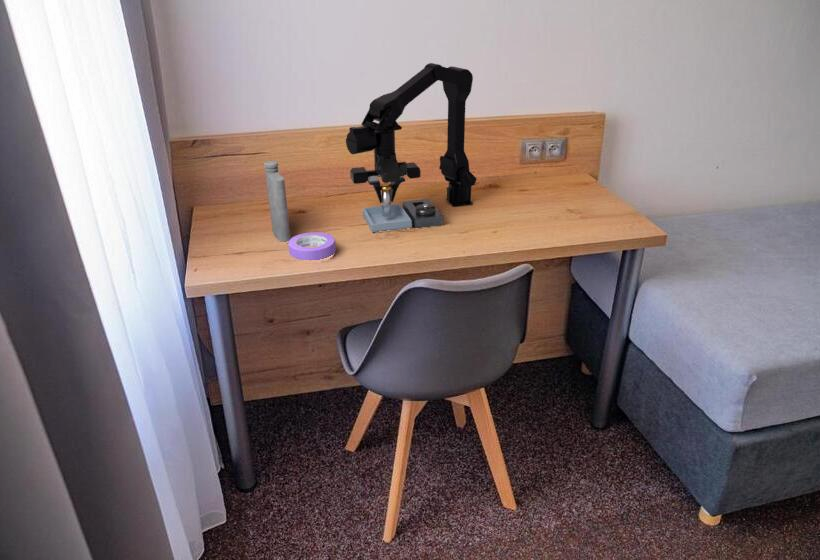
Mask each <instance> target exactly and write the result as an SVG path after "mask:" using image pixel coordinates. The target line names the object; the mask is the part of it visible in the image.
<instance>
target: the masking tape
mask: <svg viewBox="0 0 820 560" xmlns="http://www.w3.org/2000/svg"><path fill="white" fill-rule="evenodd" d="M290 238H291V239H290V240H289V242H288V250H289V253H290V254H289V256H290V255H291V256H292V257H294V258H296V259H299V260H310V261H311V260H320V259H324V258H327V257H329V256H331V255H333V254H334V253H335V251H336V241H335V240H336V239H335V237H334V236H333V235H331V234H329V233H325V232H317V231H316V232H304V233H300V234H296V235H294V236H292V237H290ZM313 245H315V246H316V245H317V247H306V246H313ZM335 254H336V253H335Z"/></svg>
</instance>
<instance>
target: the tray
mask: <svg viewBox="0 0 820 560" xmlns="http://www.w3.org/2000/svg"><path fill="white" fill-rule="evenodd" d="M363 216H364V217H363ZM362 217H363V218H365V219H364V220H366V221H365V223H366V222H367V223H368V224H367V223H366V224H367V226H368V225H369V226H368V228H369V227H370V228H369V229H371V230H370V232H371V231H372V232H379V231H387V230H396V231H398V230H397V229H405V230H408V229H407V228H412V227H413V225H412V220H411V219H410V217H409V216H408V215H407V213H406V212H405V210H404V209H403V205H401V204H400V203H398V204H396V203H394V204H391V216H390V217H383V216H382V205H378V206H377V205H375V206H368V207H362ZM372 232H371V233H372ZM379 233H380V232H379Z"/></svg>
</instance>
